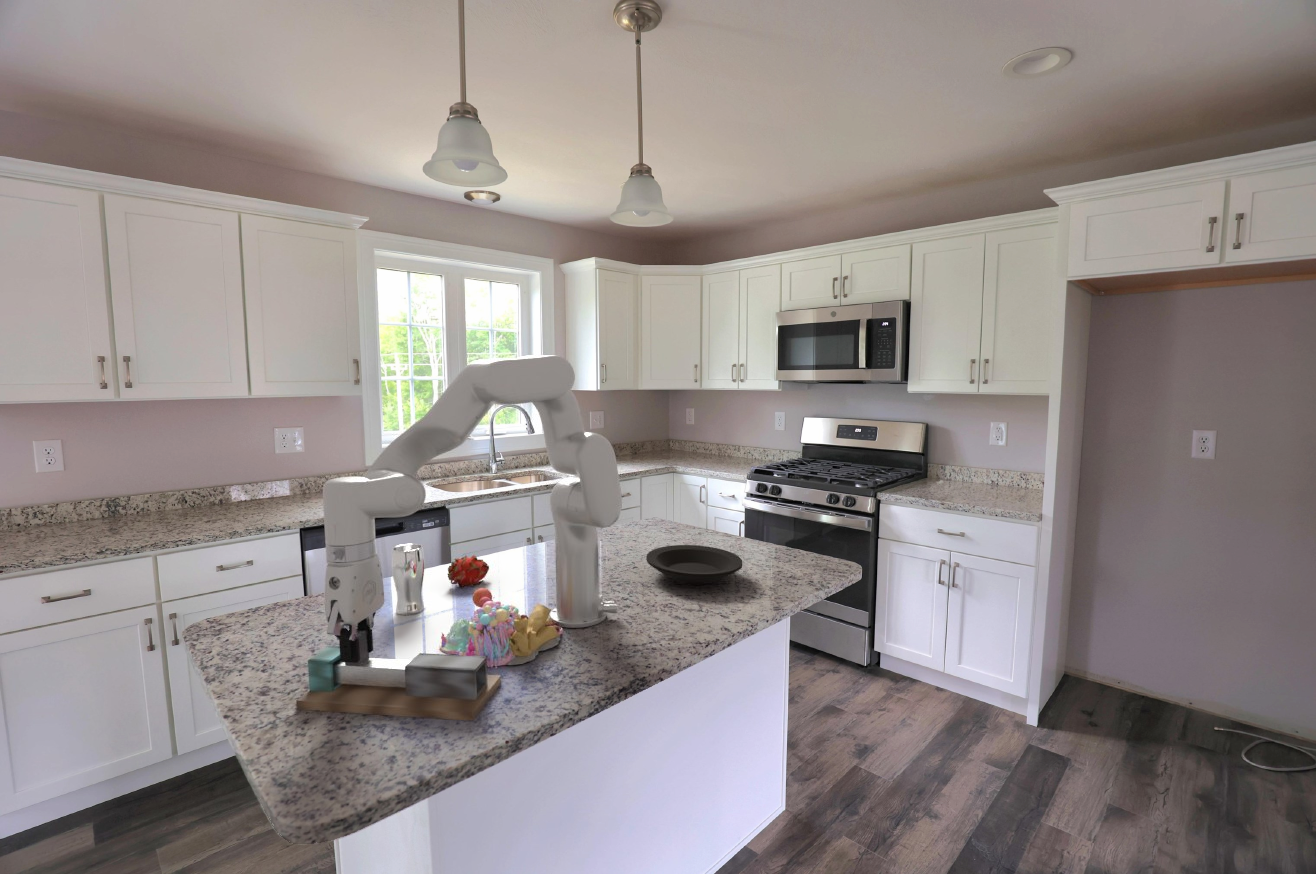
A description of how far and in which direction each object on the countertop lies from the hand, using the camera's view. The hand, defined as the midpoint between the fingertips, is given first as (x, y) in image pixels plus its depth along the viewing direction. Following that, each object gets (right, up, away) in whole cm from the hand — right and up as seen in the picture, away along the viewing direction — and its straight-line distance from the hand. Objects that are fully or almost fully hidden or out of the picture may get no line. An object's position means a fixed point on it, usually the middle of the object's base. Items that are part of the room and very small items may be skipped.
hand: (357, 655), depth 106 cm
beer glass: (-6, -3, +39) cm, 39 cm away
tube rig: (+8, -7, 0) cm, 10 cm away
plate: (+61, -1, +60) cm, 86 cm away
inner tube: (+4, -4, 0) cm, 6 cm away
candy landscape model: (+19, -5, +21) cm, 29 cm away
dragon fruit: (+2, -2, +57) cm, 57 cm away
